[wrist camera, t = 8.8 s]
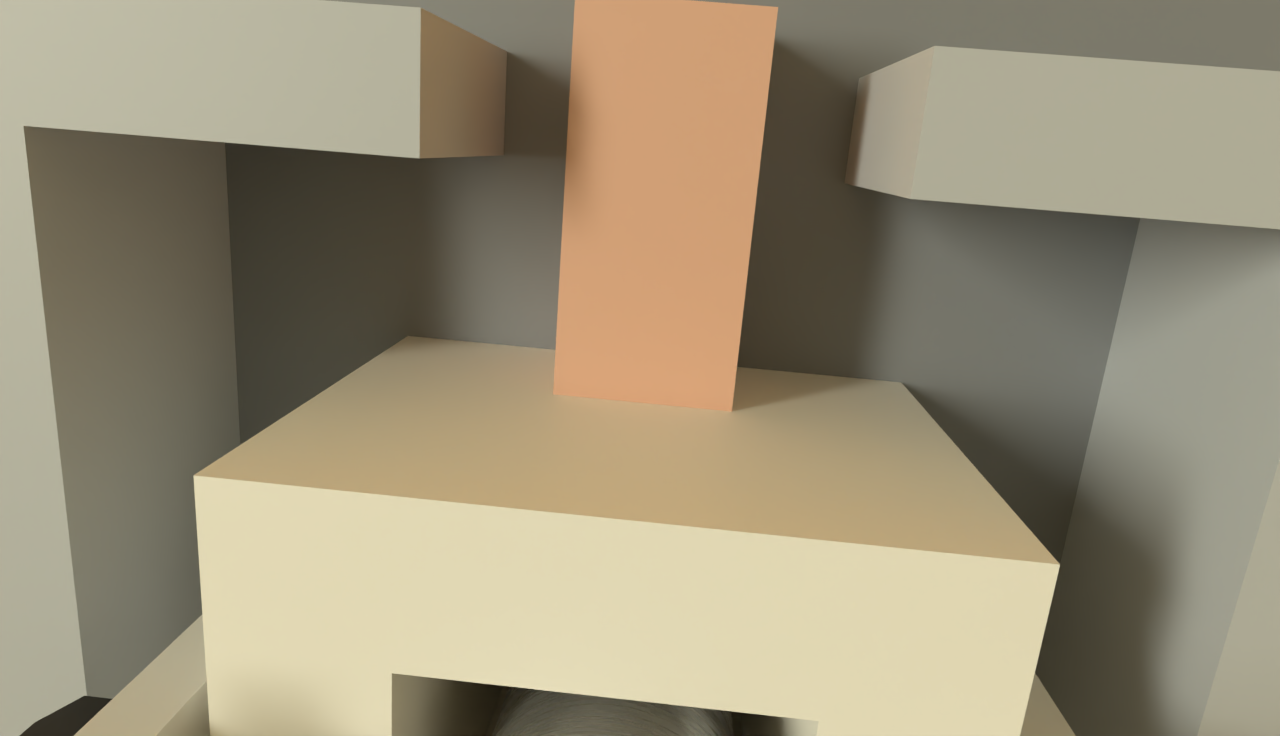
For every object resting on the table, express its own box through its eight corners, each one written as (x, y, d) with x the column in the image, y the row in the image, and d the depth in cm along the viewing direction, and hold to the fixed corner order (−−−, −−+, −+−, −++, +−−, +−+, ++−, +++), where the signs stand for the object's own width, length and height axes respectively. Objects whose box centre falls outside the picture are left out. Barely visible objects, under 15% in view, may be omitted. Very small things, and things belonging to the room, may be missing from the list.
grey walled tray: (163, 907, 19) (-33, 1186, 14) (74, -74, 13) (-296, -206, 8) (1070, 1020, 18) (1217, 1363, 13) (1351, 17, 13) (1785, -69, 8)
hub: (831, 798, 15) (912, 1194, 10) (405, 748, 16) (233, 1100, 10) (957, 48, 12) (1203, -44, 6) (410, 7, 12) (155, -120, 6)
